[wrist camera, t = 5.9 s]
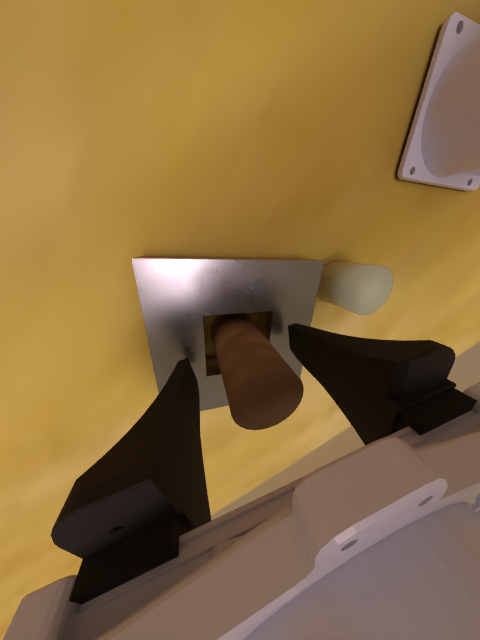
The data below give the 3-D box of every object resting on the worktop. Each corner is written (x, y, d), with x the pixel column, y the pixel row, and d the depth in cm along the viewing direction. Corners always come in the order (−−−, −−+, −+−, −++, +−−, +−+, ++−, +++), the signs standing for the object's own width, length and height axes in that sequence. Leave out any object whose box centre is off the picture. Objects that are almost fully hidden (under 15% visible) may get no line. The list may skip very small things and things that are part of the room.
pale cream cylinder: (352, 261, 16) (400, 265, 12) (342, 299, 17) (382, 313, 14) (319, 261, 15) (360, 266, 11) (311, 301, 16) (345, 316, 13)
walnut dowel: (248, 304, 15) (303, 359, 8) (253, 340, 16) (303, 413, 9) (206, 315, 14) (223, 386, 7) (215, 351, 16) (238, 439, 8)
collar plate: (302, 258, 14) (323, 260, 12) (284, 374, 19) (297, 391, 17) (142, 256, 11) (131, 258, 9) (167, 394, 16) (164, 418, 14)
